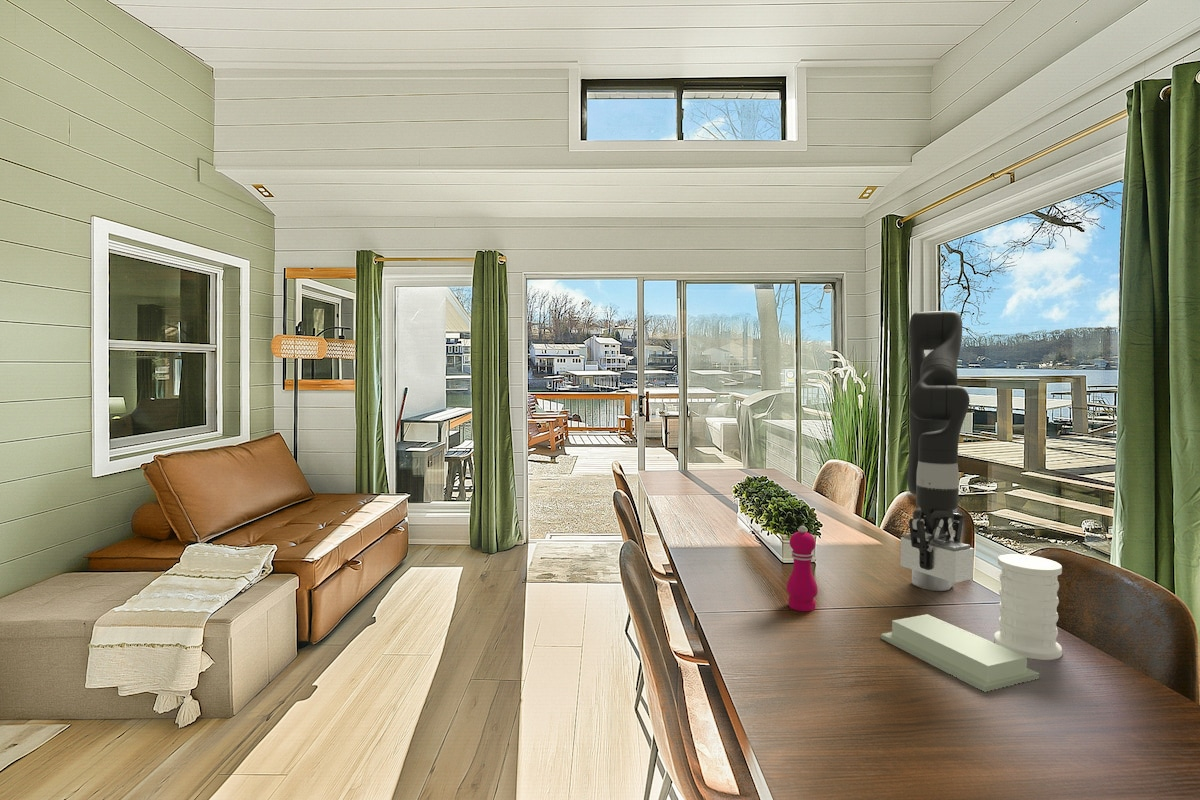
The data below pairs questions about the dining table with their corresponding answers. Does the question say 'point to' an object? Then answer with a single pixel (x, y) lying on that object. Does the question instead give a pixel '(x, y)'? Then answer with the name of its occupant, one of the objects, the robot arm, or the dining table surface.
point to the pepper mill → (802, 572)
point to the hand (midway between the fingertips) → (935, 566)
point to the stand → (960, 652)
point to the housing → (941, 559)
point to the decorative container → (1029, 606)
